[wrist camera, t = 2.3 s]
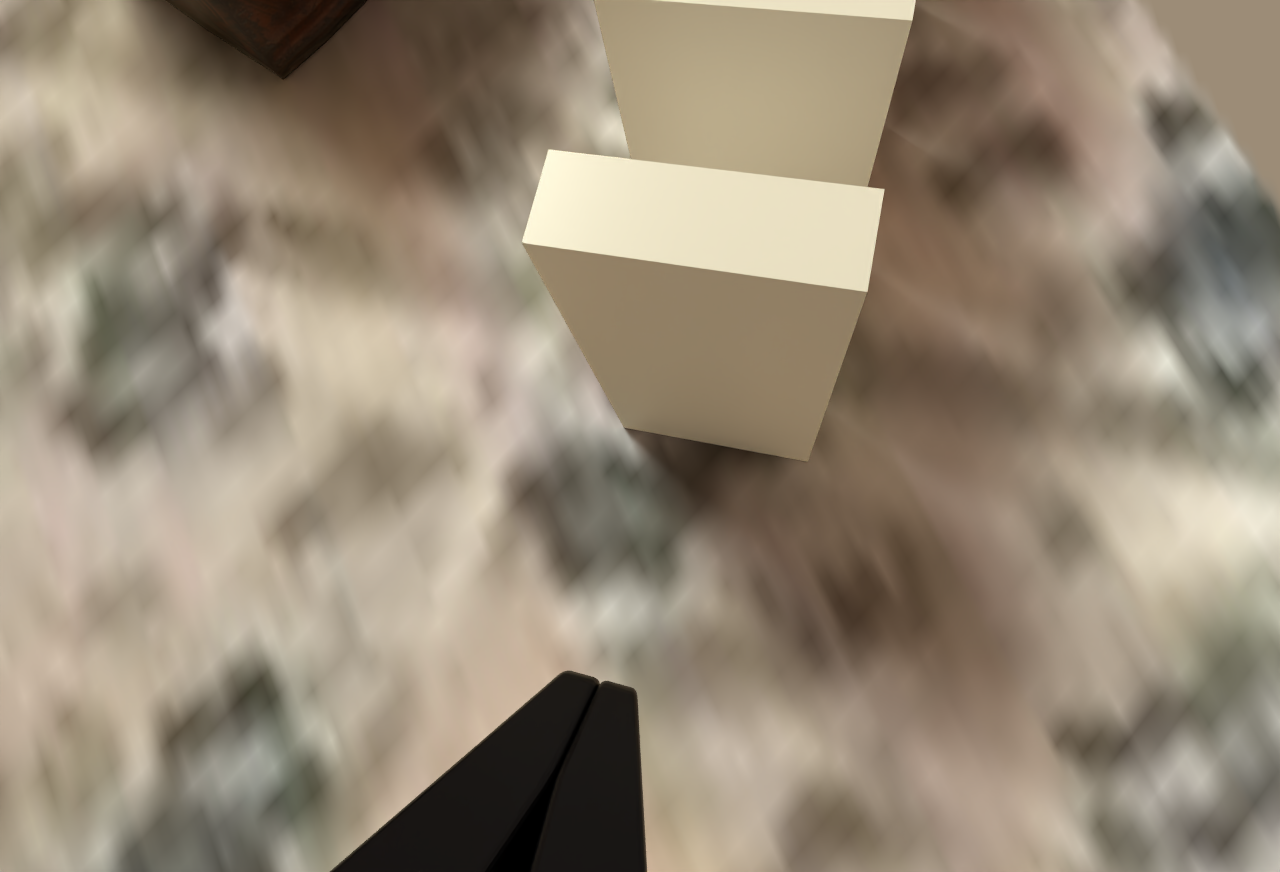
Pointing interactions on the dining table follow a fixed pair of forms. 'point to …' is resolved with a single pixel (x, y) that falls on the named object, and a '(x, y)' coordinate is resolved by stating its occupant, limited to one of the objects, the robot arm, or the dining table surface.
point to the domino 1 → (757, 82)
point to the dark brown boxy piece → (271, 26)
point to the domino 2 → (706, 292)
